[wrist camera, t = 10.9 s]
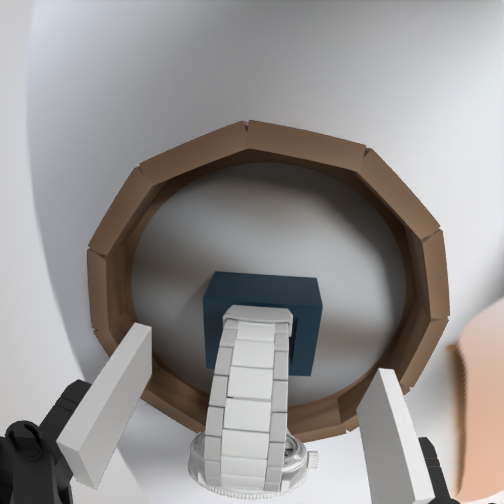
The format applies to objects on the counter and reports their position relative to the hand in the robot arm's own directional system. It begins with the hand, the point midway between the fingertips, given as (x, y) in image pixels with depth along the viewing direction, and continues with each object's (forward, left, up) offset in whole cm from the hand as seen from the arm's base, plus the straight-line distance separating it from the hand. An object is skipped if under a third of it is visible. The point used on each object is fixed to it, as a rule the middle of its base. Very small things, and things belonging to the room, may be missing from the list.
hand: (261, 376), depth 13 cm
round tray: (0, 0, -7) cm, 7 cm away
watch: (0, 0, -6) cm, 6 cm away
